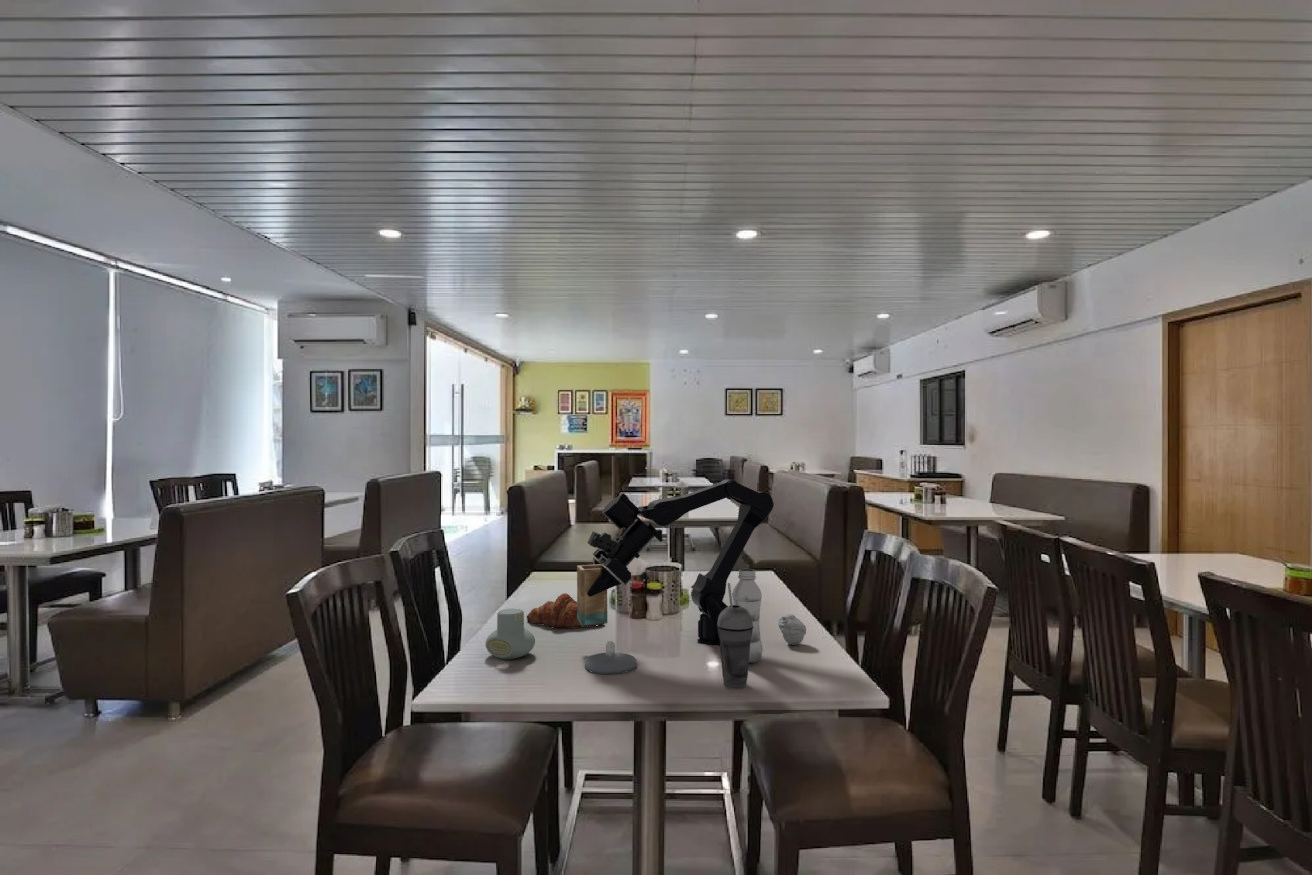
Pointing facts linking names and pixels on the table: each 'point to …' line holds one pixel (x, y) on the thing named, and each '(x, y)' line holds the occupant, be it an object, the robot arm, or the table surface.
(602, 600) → the banded sleeve
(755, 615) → the plastic bottle
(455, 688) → the table surface
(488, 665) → the table surface
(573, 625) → the pastry
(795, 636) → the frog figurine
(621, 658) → the pin stand
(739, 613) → the beverage cup
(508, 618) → the air freshener
